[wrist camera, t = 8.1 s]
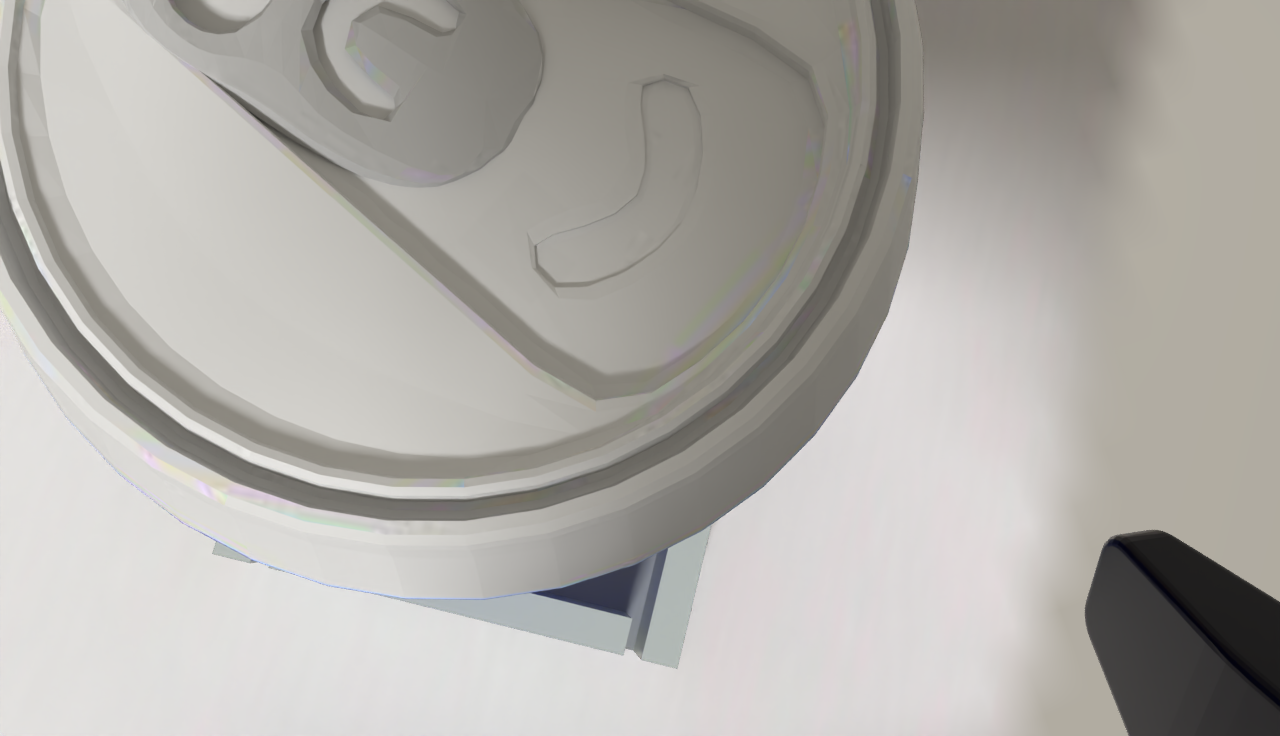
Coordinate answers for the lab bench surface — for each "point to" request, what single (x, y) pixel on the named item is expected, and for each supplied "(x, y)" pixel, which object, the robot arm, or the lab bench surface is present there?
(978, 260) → the lab bench surface
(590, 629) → the can holder
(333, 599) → the lab bench surface
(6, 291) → the beverage can
